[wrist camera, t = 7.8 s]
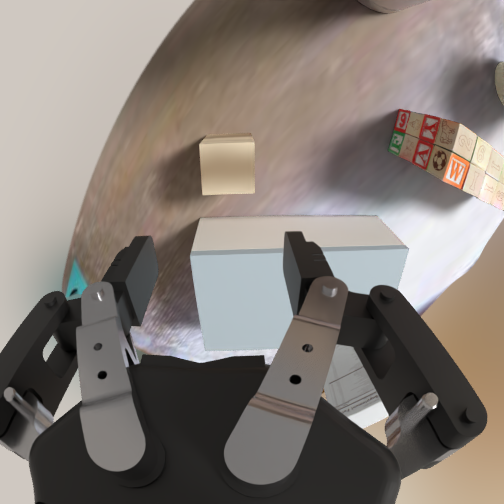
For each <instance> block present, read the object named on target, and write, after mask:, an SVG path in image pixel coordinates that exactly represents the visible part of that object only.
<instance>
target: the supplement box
mask: <svg viewBox="0 0 504 504" xmlns="http://www.w3.org/2000/svg"><path fill="white" fill-rule="evenodd" d="M324 391H325V394H326V399H327V402H329V403H330V404H331V405H332V406H334V407H335V408H336V409H337V410H339V411H340V412H341V413H343V414H344V415H345V416H346V417H348V418H349V419H350V420H352V421H353V422H354V423H356V424H357V425H358V426H359V427H361V428H362V429H363V428H365V427H367V426H369V425H371V424H373V423H376V422H378V421H380V420H382V419H384V418H386V417H388V416H389V415H388V413H387V411H386V409H385V407H384V405H383V403H382V401H381V399H380V397H379V395H378V393H377V391H376V389H375V387H374V386H373V384H372V382H371V380H370V378H369V376H368V374H367V372H366V370H365V369H364V367H363V365H362V363H361V361H360V359H359V357H358V356H357V354H356V352H355V350H354V348H353V347H351V346H344V345H337V344H336V347H335V351H334V354H333V358H332V361H331V365H330V368H329V372H328V375H327V378H326V382H325V385H324Z"/></svg>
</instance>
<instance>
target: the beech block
mask: <svg viewBox="0 0 504 504" xmlns="http://www.w3.org/2000/svg"><path fill="white" fill-rule="evenodd" d="M199 150H200V166H201V181H202V194H203V195H218V194H249V193H255V167H254V140H253V137H252V135H251V133H237V134H213V135H206V137H205V138H204V139H203V140H202V142H201V143H200V144H199Z"/></svg>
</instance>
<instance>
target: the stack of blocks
mask: <svg viewBox="0 0 504 504" xmlns="http://www.w3.org/2000/svg"><path fill="white" fill-rule="evenodd" d="M388 151H389V152H391V153H393V154H394V155H396V156H398V157H400V158H403V159H405V160H407V161H409V162H411V163H412V164H413V165H415V166H417V167H419V168H421V169H423V170H425V171H426V172H428V173H430V174H432V175H433V176H435V177H436V178H438V179H440V180H441V181H443V182H445V183H448V184H450V185H452V186H454V187H457V188H459V189H460V190H462V191H464V192H466V193H469V194H471V195H473V196H475V197H476V198H478V199H480V200H482V201H484V202H486V203H488V204H491V205H493V206H495V207H497V208H499V209H501V210H503V211H504V157H503V156H502V155H501V154H500V153H498V152H497V151H496V150H494V149H493V148H492V146H491V145H489V144H488V143H487V142H485V141H484V140H483V139H481V138H480V137H478V136H477V135H476V134H475V133H473V132H472V131H471V130H469V129H468V128H466V127H465V126H464V125H462V124H460V123H457V122H454V121H450V120H446V119H442V118H439V117H436V116H431V115H427V114H420V113H416V112H412V111H408V110H403V109H399V112H398V116H397V119H396V123H395V127H394V132H393V135H392V139H391V142H390V145H389V149H388Z"/></svg>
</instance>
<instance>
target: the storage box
mask: <svg viewBox="0 0 504 504" xmlns="http://www.w3.org/2000/svg"><path fill="white" fill-rule="evenodd" d="M285 231H302V233H303V235H304V238H305V240H306V242H310V241H313V242H314V243H316V244H317V245H318V246H320V247H343V246H381V245H404V243H403V242H402V241H401V240H400V239H399V238H398V237H397V236H396V235H395V234H394V233H393V231H392V230H391V229H390V228H389V227H388V226H387V225H386V224H385V223H384V222H383V221H382V220H381V219H380V218H379V217H378V216H366V215H282V216H237V217H209V218H200V221H199V224H198V228H197V231H196V235H195V239H194V243H193V247H192V250H191V251H206V250H238V249H272V248H284V234H285Z"/></svg>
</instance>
